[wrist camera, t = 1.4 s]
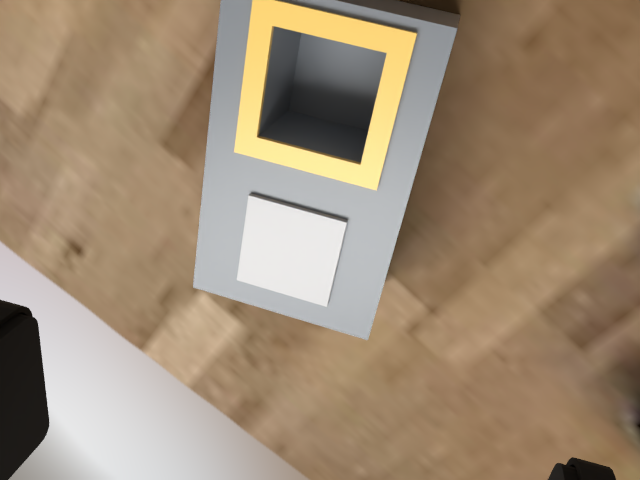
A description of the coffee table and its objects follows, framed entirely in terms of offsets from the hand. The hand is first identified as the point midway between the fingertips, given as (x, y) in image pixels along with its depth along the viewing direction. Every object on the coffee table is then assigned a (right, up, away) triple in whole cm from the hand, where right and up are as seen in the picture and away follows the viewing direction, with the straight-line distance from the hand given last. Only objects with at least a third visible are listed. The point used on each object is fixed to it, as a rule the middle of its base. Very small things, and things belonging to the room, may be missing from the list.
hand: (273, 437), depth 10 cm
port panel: (+2, +9, +22) cm, 24 cm away
